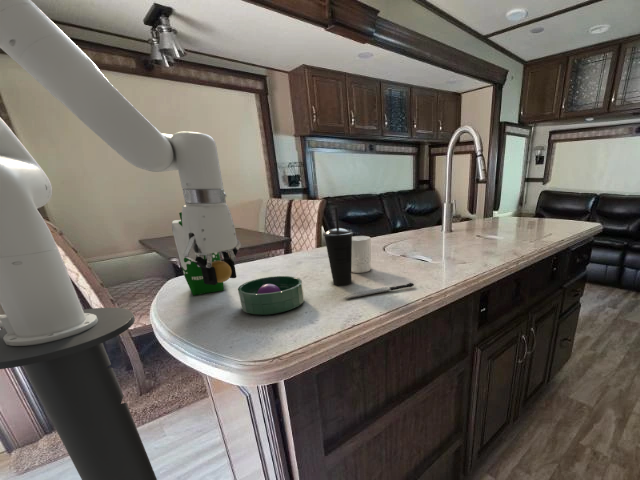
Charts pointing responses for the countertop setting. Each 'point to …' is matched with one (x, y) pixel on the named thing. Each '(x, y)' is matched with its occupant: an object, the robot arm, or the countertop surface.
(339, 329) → the countertop surface
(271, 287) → the plum ball
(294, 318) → the countertop surface
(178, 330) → the countertop surface
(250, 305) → the bowl
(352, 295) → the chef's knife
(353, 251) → the white cup
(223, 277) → the ochre ball
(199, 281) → the milk carton
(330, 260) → the drinking cup
